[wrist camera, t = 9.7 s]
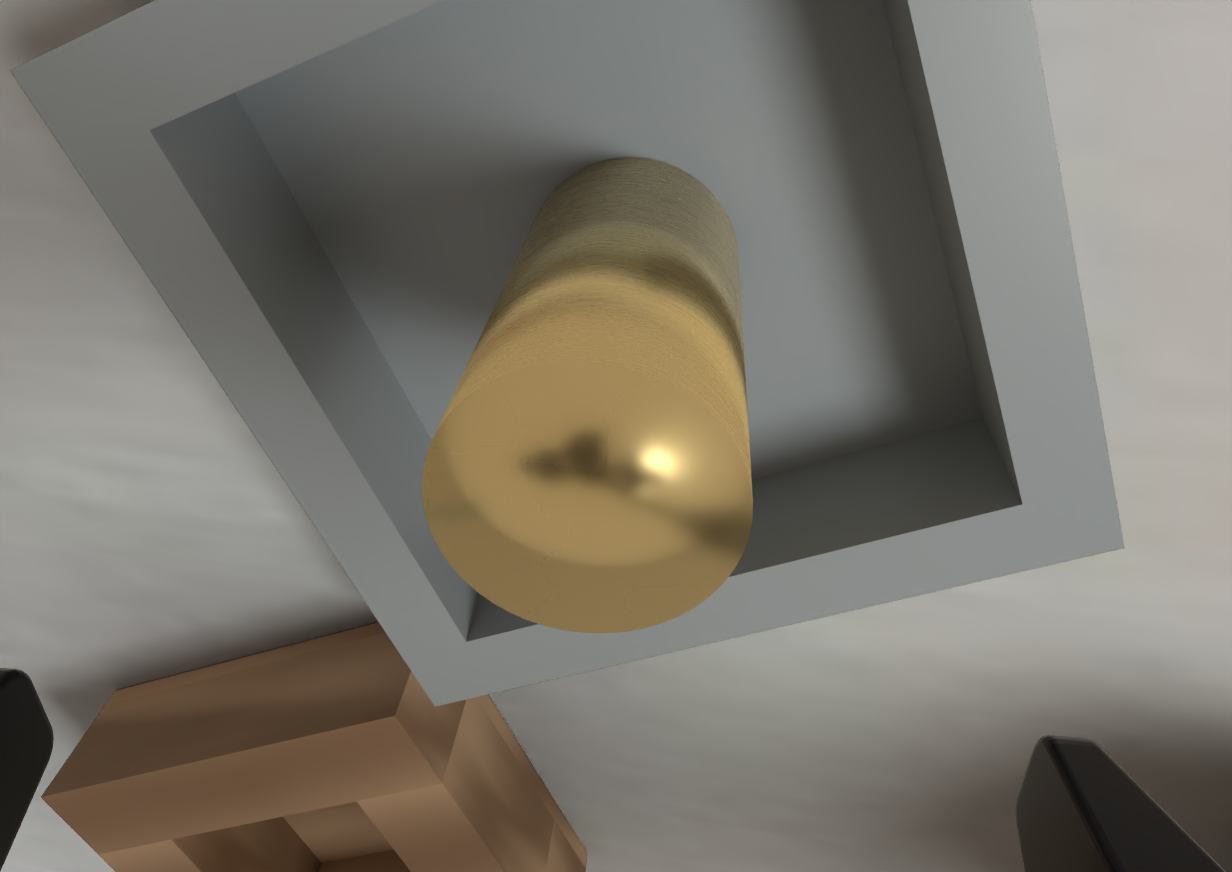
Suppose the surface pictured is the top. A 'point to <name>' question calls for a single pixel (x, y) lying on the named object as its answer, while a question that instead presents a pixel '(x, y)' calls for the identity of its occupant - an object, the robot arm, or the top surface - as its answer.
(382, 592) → the grey tray
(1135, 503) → the top surface
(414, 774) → the walnut socket block
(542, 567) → the brass pin
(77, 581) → the top surface
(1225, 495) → the top surface
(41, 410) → the top surface
